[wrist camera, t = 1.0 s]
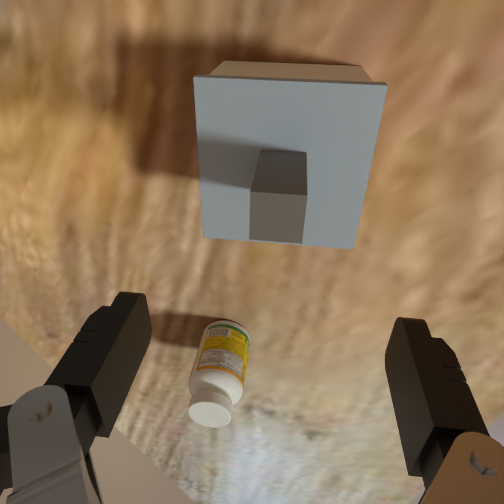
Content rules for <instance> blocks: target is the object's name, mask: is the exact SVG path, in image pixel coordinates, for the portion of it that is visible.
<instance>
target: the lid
mask: <svg viewBox="0 0 504 504" xmlns="http://www.w3.org/2000/svg"><path fill="white" fill-rule="evenodd" d="M193 81H194V97H195V113H196V129H197V145H198V161H199V177H200V193H201V209H202V225H203V238H216V239H229V240H242V241H255V242H268V243H280V244H293V245H306V246H319V247H332V248H345V249H354V245H355V240H356V236H357V231H358V226H359V221H360V216H361V212H362V207H363V202H364V197H365V193H366V188H367V183H368V178H369V173H370V169H371V164H372V159H373V154H374V149H375V145H376V140H377V135H378V130H379V126H380V121H381V116H382V111H383V106H384V102H385V97H386V92H387V87H388V85H387V84H386V83H385V82H364V81H341V80H318V79H295V78H272V77H249V76H226V75H203V74H196V75H195V76H194V77H193Z"/></svg>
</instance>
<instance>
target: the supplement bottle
mask: <svg viewBox="0 0 504 504" xmlns="http://www.w3.org/2000/svg"><path fill="white" fill-rule="evenodd" d="M249 346H250V338H249V334H248V333H247V331H246V330H245V329H244V328H243V327H242V326H240V325H239V324H237V323H235V322H231V321H223V320H222V321H216V322H213V323H211V324H209V325H208V326H207V327H206V328H205V330H204V332H203V335H202V338H201V342H200V345H199V348H198V352H197V355H196V359H195V362H194V365H193V368H192V372H191V375H190V379H189V383H188V387H189V391H190V394H191V395H192V397H191V399H190V404H189V408H188V414H189V416H190V417H191V419H192V420H194V421H195V422H196V423H198V424H200V425H203V426H207V427H213V428H215V427H222V426H225V425H227V424H228V423H229V422H230V420H231V416H232V411H233V405H234V404H236V403H237V402H238V401H239V399H240V398H241V396H242V392H243V386H244V380H245V373H246V366H247V360H248V353H249Z"/></svg>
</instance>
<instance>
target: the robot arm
mask: <svg viewBox="0 0 504 504" xmlns="http://www.w3.org/2000/svg"><path fill="white" fill-rule="evenodd" d="M150 339H151V322H150V316H149V311H148V305H147V300H146V296H145V294H143V293H133V292H119V293H118V295H117V296H116V298H115V299H114V301H113V303H112V304H111V306H102V307H100V308H99V309H98V310H97V311H95V312H94V313H93V314H91V315H90V316H89V317H88V319H87V320H86V322H85V323H84V325H83V326H82V328H81V331H80V332H78V334H77V335H76V337H75V338H74V342H73V343H71V345H70V346H69V348H68V349H67V351H66V352H65V354H64V355H63V357H62V358H61V360H60V361H59V363H58V364H57V366H56V367H55V369H54V370H53V372H52V374H51V375H50V377H49V378H48V380H47V381H46V382H45V384H44V385H43V386H40V387H37V388H34V389H32V390H30V391H28V392H26V393H25V394H24V395H22V396H21V397H20V398H19V399H18V400H17V401H16V402H15V403H14V404H12V405H8V406H3V407H0V495H1V494H2V492H3V490H4V489H7V488H12V487H13V492H12V494H10V495H9V496H8V497H7V500H6V504H104V503H103V499H102V495H101V491H100V487H99V483H98V479H97V475H96V471H95V467H94V463H93V459H92V455H91V452H90V447H91V445H92V443H93V441H94V438H95V436H100V437H107V438H109V436H110V433H111V431H112V429H113V426H114V424H115V422H116V420H117V417H118V415H119V413H120V410H121V408H122V406H123V403H124V401H125V399H126V397H127V394H128V392H129V390H130V387H131V385H132V383H133V380H134V378H135V376H136V374H137V371H138V369H139V367H140V364H141V362H142V360H143V357H144V355H145V353H146V351H147V348H148V346H149V343H150ZM385 370H386V374H387V379H388V384H389V388H390V393H391V397H392V402H393V406H394V411H395V416H396V420H397V425H398V429H399V434H400V439H401V443H402V448H403V452H404V457H405V461H406V466H407V471H408V475H409V476H418V477H422V478H423V482H424V486H425V491H424V493H423V495H422V497H421V498H420V500H419V502H418V504H504V447H503V446H502V445H501V444H500V443H499V442H497V441H496V440H494V439H493V438H491V437H490V435H489V433H488V431H487V428H486V426H485V424H484V421H483V419H482V417H481V414H480V412H479V409H478V407H477V405H476V402H475V400H474V398H473V395H472V393H471V390H470V388H469V386H468V384H466V378H465V376H464V374H463V371H461V367H460V364H459V362H458V359H457V357H456V355H455V352H454V351H453V350H452V349H451V348H450V347H449V346H448V345H447V344H446V342H445V341H444V340H443V339H442V338H434V337H431V334H430V331H429V329H428V326H427V323H426V322H425V320H423V319H414V318H403V317H398V318H397V319H396V321H395V324H394V327H393V330H392V333H391V336H390V339H389V343H388V346H387V349H386V353H385Z"/></svg>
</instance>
